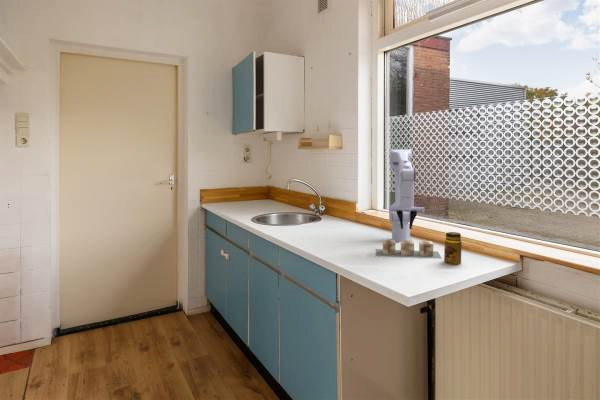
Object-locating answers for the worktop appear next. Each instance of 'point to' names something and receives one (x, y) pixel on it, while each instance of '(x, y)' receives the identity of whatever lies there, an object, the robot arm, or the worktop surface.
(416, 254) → the slate mat
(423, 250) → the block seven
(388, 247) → the block one
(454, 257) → the condiment
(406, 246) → the plain block
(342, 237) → the worktop surface
